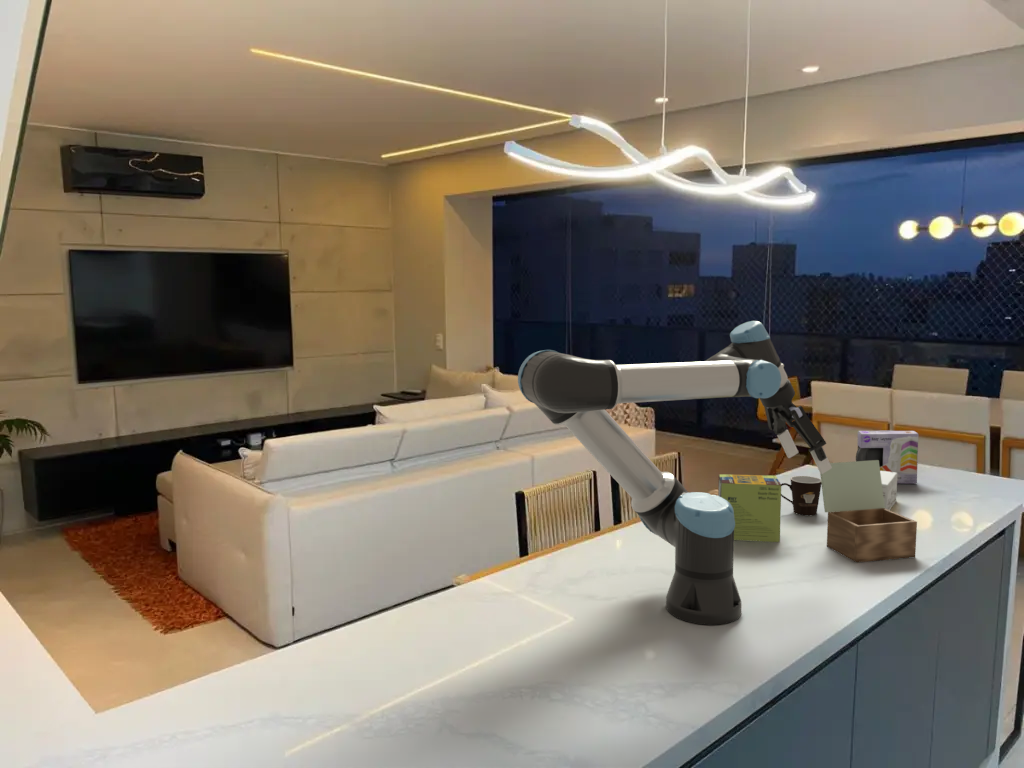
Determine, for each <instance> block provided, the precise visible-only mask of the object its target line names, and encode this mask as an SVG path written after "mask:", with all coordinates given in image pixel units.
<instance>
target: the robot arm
mask: <svg viewBox="0 0 1024 768" xmlns="http://www.w3.org/2000/svg"><path fill="white" fill-rule="evenodd" d="M729 337H730V342H731V343H730V344H729V345H728V346H726V347H725V348H723V349H721V350H719V352H717V353H716V354H714V355H712V356H710V357H709V358H707V359H706V360H704V361H684V362H682V361H681V362H680V361H679V362H658V363H657V362H655V363H654V362H653V363H633V364H632V363H631V364H630V363H629V364H616V363H615V362H614V361H613V360H611V359H590V358H584V357H579V356H575V355H572V354H566V353H561V352H558V351H556V350H553V349H544V350H539V351H536V352H535V351H534V352H533V353H531V354H530V355H528V356H527V357H526V358H525V359H524V361H523V362H522V364H521V365H520V367H519V370H518V374H517V384H518V388H519V390H520V393H521V394H522V395H523V397H524V399H526V400H527V401H528V402H530V403H532V404H534V405H535V406H536V407H537V408H538V409H539V410H540V411H541V412H542V413H543V414H544V415H545V416H546V418H548V419H549V421H551V423H552V424H553V425H555V426H556V425H557V426H565V428H567V429H568V431H569V432H570V433H571V434H572V435H573V436H574V437H575V439H577V441H579V443H580V444H582V446H584V448H585V449H586V450H587V451H588V452H589V453H590V454H591V456H593V458H594V459H595V460H596V461H597V462H598V463H599V464H600V465H601V467H603V468H604V469H605V471H606V472H607V473H608V474H609V475H610V476H611V477H612V479H614V480H615V481H616V482H617V483H618V485H619V486H620V487H621V488H622V489H623V490H624V491H625V492H626V493H627V494H628V495H629V497H630V498H631V501H630V505H631V508H632V510H633V511H634V512H635V513H636V514H637V516H639V520H640V521H641V522H642V524H643V525H644V527H645V528H646V529H647V530H648V531H650V532H651V533H652V534H654V535H656V536H658V537H659V538H661V539H663V540H664V541H665V542H666V543H668V544H670V545H671V546H673V547H674V548H675V549H674V550H675V551H674V563H675V565H674V567H675V568H674V574H673V576H672V579H671V582H670V585H669V588H668V591H667V593H666V598H665V599H666V600H665V604H666V605H665V606H666V607H665V608H666V610H667V612H668V613H669V614H670V615H672V616H674V617H676V618H677V619H680V620H682V621H685V622H688V623H691V624H698V625H706V626H707V625H709V626H711V625H714V626H715V625H725V624H729V623H732V622H734V621H736V620H738V619H739V618H740V617H741V616H742V599H741V596H740V593H739V591H738V587H737V583H736V581H735V580H736V579H735V578H734V552H735V546H734V545H735V540H734V528H735V520H734V510H733V507H732V506H731V504H730V503H729V502H728V501H727V500H725V499H724V498H722V497H720V496H718V494H717V495H716V494H710V493H709V492H704V491H703V492H701V491H691V492H689V491H688V489H686V488H685V487H684V485H682V483H681V482H680V481H679V480H678V479H677V477H675V476H674V474H673V473H672V472H669V471H661V470H660V469H659V468H658V466H656V464H655V463H654V462H653V461H652V460H651V459H650V458H649V457H648V455H647V454H645V452H643V450H642V449H641V448H640V446H638V445H637V443H636V442H635V441H634V440H633V439H632V438H631V436H629V434H628V433H627V432H626V431H625V430H624V429H623V428H622V427H621V425H619V423H617V421H616V420H615V419H614V418H613V417H612V416H611V415H610V413H609V412H608V411H607V410H613V409H614V408H615V407H617V405H618V404H632V403H633V404H634V403H647V402H648V403H651V402H664V401H665V402H667V401H682V400H683V401H684V400H700V399H701V400H703V399H716V398H741V397H742V398H743V397H751V398H754V399H759V400H760V402H761V405H762V406H763V408H764V411H765V415H766V420H767V426H768V429H769V430H771V431H773V432H774V434H775V435H776V437H777V438H778V440H779V443H780V445H781V446H782V448H783V451H784V452H785V455H786V457H787V458H788V459H791V458H792V457H795V456H796V455H797V454H799V450H798V448H797V446H796V443H795V441H794V439H793V437H792V435H791V433H790V432H789V429H788V426H789V427H790V428H793V429H794V430H795V431H796V433H797V434H798V435H799V436H800V438H801V439H803V441H804V442H805V443H806V445H807V446H808V447H809V448H808V452H810V454H811V455H810V456H811V457H812V458H813V460H814V463H815V466H816V467H817V469H818V471H819V474H820V473H821V474H823V473H825V472H826V471H828V470H830V469H831V468H832V466H831V464H830V463H831V462H830V461H829V458H828V456H827V454H826V452H825V450H824V447H823V446H825V445H826V444H827V441H826V440H825V439H824V437H823V436H822V435H821V433H820V432H819V430H818V429H817V428H816V426H815V424H813V422H812V420H811V419H810V417H808V415H807V413H806V411H805V409H804V407H803V405H802V406H801V405H799V406H796V405H795V404H794V403H793V402H792V400H793V399H794V397H795V395H796V394H795V393H796V392H795V390H794V387H793V385H792V383H791V381H790V379H788V374H787V372H786V370H785V368H784V367H785V364H784V363H782V362H781V360H780V357H779V354H778V353H777V351H776V349H775V346H774V343H773V341H772V340H771V336H770V335H769V333H768V331H767V330H766V327H765V326H764V324H763V323H762V322H760V321H758V320H751V321H746V322H744V323H741V324H739V325H737V326H736V327H734V328H733V330H732V331H731V332H730V333H729Z"/></svg>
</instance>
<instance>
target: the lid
mask: <svg viewBox="0 0 1024 768" xmlns="http://www.w3.org/2000/svg"><path fill="white" fill-rule="evenodd" d="M830 464H831V466H832V468H831V469H830V470H828V471H826V472H825V473H823V474H821V473H820V472H819V474H820V475H819V476H820V479H821V491H822V492H821V493H822V500H823V507H824V513H828V512H838V511H852V510H864V509H878V508H885V505H884V497H883V489H882V482H881V474H880V466H879V460H871V461H856V460H855V461H841V462H830Z"/></svg>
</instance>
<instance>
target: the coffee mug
mask: <svg viewBox="0 0 1024 768" xmlns="http://www.w3.org/2000/svg"><path fill="white" fill-rule="evenodd" d="M780 484H781V487H783V486H787V487H789V489H790V491H791V498H792V500H791V499H789V498H788V497H786V496H785V495H784V494H782V493H781V498H783V499H785V500H786V501H787V502H789V503H791V505H792V508H793V509H792V511H793V513H794V512H795V513H794V514H796V513H797V514H796V515H799V514H800V515H799V516H805V515H808V516H809V517H811V516H810V515H812V516H816V515H817V513H818V508H819V501H820V494H821V491H822V484H821V478H819V477H815V476H811V475H810V476H809V475H794V476H791V477H790V484H789V483H786V482H783V483H780ZM808 516H807V517H808Z"/></svg>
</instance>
